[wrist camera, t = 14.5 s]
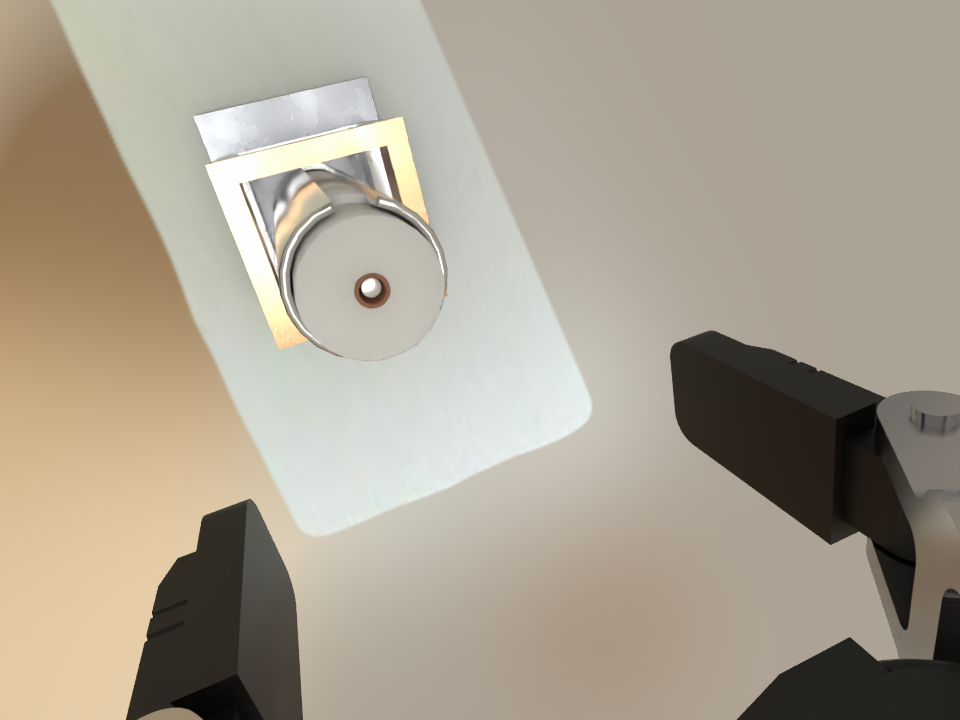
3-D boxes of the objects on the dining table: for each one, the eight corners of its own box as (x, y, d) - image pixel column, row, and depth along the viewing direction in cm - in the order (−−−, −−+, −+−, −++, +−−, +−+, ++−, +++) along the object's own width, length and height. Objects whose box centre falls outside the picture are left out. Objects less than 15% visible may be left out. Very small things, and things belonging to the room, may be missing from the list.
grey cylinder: (375, 185, 45) (482, 240, 23) (344, 265, 46) (416, 389, 24) (290, 147, 42) (317, 165, 20) (260, 232, 43) (252, 339, 21)
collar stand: (195, 116, 40) (164, 110, 28) (364, 77, 43) (402, 56, 31) (278, 329, 47) (282, 396, 35) (421, 284, 49) (469, 332, 38)
